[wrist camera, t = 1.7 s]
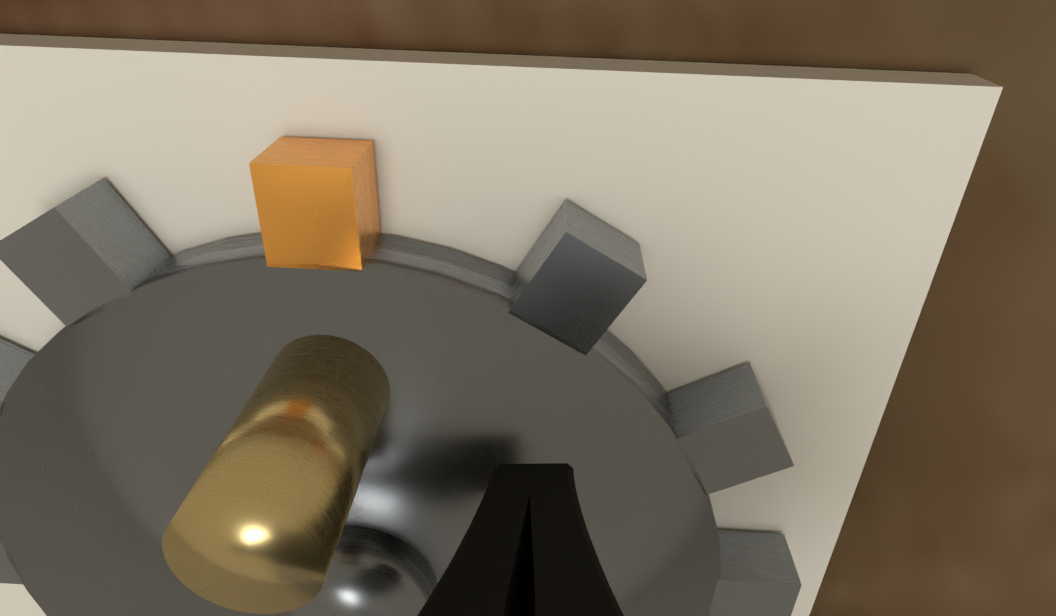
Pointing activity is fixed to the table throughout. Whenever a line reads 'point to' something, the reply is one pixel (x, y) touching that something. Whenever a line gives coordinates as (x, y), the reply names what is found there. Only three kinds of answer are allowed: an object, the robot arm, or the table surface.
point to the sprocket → (350, 413)
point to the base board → (559, 202)
